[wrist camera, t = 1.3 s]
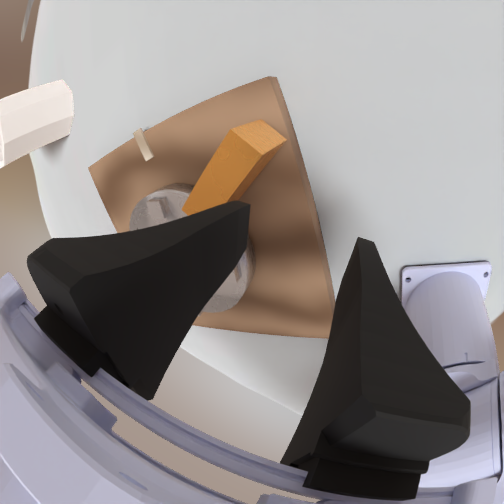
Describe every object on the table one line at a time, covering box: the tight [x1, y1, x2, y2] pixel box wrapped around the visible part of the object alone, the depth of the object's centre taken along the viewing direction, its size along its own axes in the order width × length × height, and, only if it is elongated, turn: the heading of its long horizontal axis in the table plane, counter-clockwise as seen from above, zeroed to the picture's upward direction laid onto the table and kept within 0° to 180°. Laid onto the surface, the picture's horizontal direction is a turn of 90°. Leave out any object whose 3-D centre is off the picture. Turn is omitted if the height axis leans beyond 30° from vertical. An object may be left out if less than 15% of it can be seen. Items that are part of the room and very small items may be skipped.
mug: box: [0, 79, 74, 168], centre depth 20 cm, size 12×9×10 cm
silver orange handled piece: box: [129, 119, 287, 317], centre depth 19 cm, size 20×12×6 cm, turn 145°
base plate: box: [88, 76, 335, 339], centre depth 24 cm, size 22×22×2 cm
